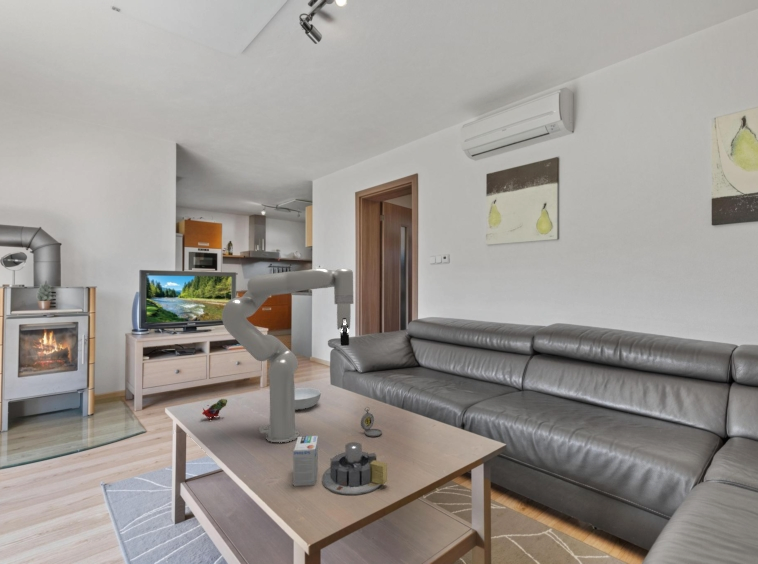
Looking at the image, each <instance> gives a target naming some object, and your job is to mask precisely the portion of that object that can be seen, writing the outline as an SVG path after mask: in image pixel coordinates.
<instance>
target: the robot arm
mask: <svg viewBox="0 0 758 564" xmlns="http://www.w3.org/2000/svg"><path fill="white" fill-rule="evenodd" d="M246 285H247V291H246V292H244V294H243V295H242V296H241V297H234V298H231V299H230V300H228V301H227V302H226V304H225V305H224V306H223V309H222V313H221V315H222V316H221V320H222V323H223V327H224V328H225V330H226V331H227V332H228V333H229V335H230V336H232V338H234V339H235V341H236V342H238V343H239V344H240V346H241V347H243V348H244V350H246V351H247V352H248V353H249V354H250V356H252V357H253V359H255V360H257V361H259V362H266V361H267V362H268V363H269V367H268V371H267V377H268V383H269V386H268V387H269V425H267V426H259V427H258V433H260V434H266V435H265V440H266V439H267V440H268V441H267V440H266V441H267V442H269V441H271V442H270V443H272V442H279V443H278V444H283V443H282V442H285V443H289V441H290V442H292V440H293V441H295V440H297V439H296V438H297V437H300V432H299V431H298V429H296V410H295V388H296V387H295V373H296V371H297V370H298V368H299V367H298V366H299V360H298V358H297V356H296V354H294V352H293V351H292V350H290V349H289V348H288V347H287V346H286V345H285V344H284V343H283V342H282V341H281V340H280V339H279V338H278V337H276V336H274V335H272V334H263V332H262V331H260V330H259V329H258V328H257V327H256V326H255V325H254V324H253V323H251V322H250V321H249V320H248V318H249V317H251V316H253V315H254V314H255V313H256V312H257V311H258V309H260V307H261V306H262V305H263V304H264V303H265V302H266V301H267V300H268V298H269V297H270V296H279V295H287V294H293V293H297V292H300V291H308V290H317V289H328V288H333V289H334V290H333V294H334V295H333V298H334V305H336V325H337V326H336V328H337V330H340V332H339V333H340V346H341V347H346V346H349V345H350V335H349V330H350V328H351V310H352V309H351V306H352V305H354V271H353V270H351V269H349V268H343V269H342V268H338V269H335V270H334V269H333V270H332V269H327V268H314V269H304V270H303V269H302V270H297V271H295V270H294V271H283V272H275V273H274V272H273V273H267V274H258V275H254V276H252V277H250V278H249V279H248V282H247V284H246ZM280 442H281V443H280Z"/></svg>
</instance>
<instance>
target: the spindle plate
mask: <svg viewBox="0 0 758 564" xmlns="http://www.w3.org/2000/svg"><path fill="white" fill-rule="evenodd" d="M344 449H345V450H344V452H345V467H347V468H353V464H358V463H360V464H361V467H362V452H363V450H362V449H363V447H362V443H360V442H356V441H354V442H349V443H348V442H347V443H346V444H345V447H344ZM321 482H322V485H323V487H325V488H326V490H328V491H330V492H332V493H334V494H337V495H341V496H359V495H364V494H366V495H367V494H369V493H372V492H374V491H376V490H378V489H379V488H380V487H382V486H383V485H382V484H378V483H375V482H369V483H367V484H364V485H361V484H360V486H349V484H348V485H347V486H344V485H340V484H337V483H335V482H334V481H333V480H332V479H331V476H330V467H328V468H327V469H326V470H325V471H324V472H323V474H322V481H321Z"/></svg>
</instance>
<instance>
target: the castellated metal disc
mask: <svg viewBox="0 0 758 564" xmlns="http://www.w3.org/2000/svg"><path fill="white" fill-rule="evenodd" d="M329 468H330V476H331V479H332V480H333V481H334V482H335V483H337V484H340V485H344V486H347V485H348V484H349V486H360V484H361V485H364V484H367V483H369V482H375V483H378V484H382V485H381V486H383V485H385V484H386V483H387V482H388V463H386V462H383V461H378V460H377V454H376V452H372V453H371V452H370V453H369V452H366V451H362V467H361V464H360V463H358V464H353V468H347V467H345V451H344V452H341V453H338V454H336V455H335V456H333V457H331V458H330V464H329Z"/></svg>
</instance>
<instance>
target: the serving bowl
mask: <svg viewBox="0 0 758 564" xmlns="http://www.w3.org/2000/svg"><path fill="white" fill-rule="evenodd" d="M321 394H322V392H321V390H320V389H318V388H314V387H295V411H299V410H298V409H302V410H305V408H306V409H308V408H311V407H313V406H315V405H317V403H318V402H319V401H320V398H321Z"/></svg>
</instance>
